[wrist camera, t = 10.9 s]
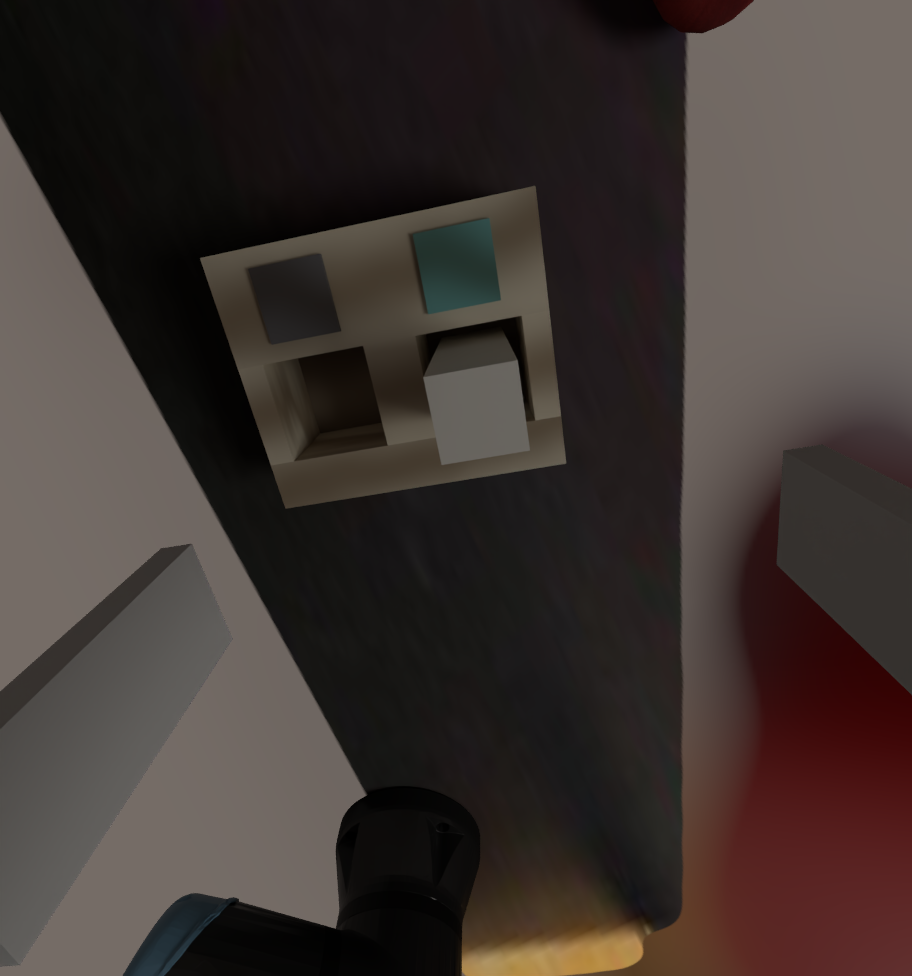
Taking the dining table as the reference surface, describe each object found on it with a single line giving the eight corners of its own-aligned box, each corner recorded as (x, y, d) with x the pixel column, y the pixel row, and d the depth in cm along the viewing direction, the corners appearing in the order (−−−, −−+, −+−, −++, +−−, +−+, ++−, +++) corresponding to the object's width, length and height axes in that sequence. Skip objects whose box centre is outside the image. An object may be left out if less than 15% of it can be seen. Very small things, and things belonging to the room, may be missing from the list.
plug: (509, 385, 36) (530, 450, 23) (452, 395, 36) (441, 465, 23) (500, 326, 34) (517, 360, 21) (441, 337, 35) (423, 377, 22)
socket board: (550, 430, 38) (566, 465, 31) (316, 470, 40) (284, 510, 33) (522, 202, 32) (536, 185, 26) (251, 260, 34) (197, 257, 27)
